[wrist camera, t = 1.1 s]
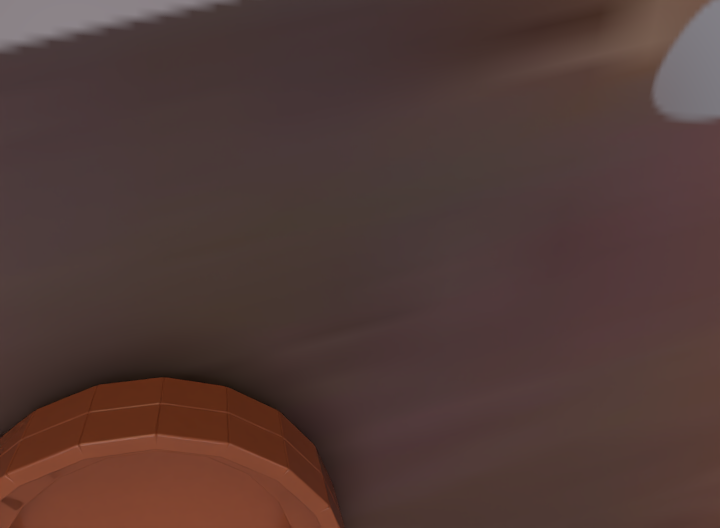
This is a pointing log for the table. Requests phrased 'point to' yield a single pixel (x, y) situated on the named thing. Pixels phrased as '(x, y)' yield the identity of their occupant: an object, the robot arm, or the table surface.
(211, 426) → the bowl
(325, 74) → the table surface
